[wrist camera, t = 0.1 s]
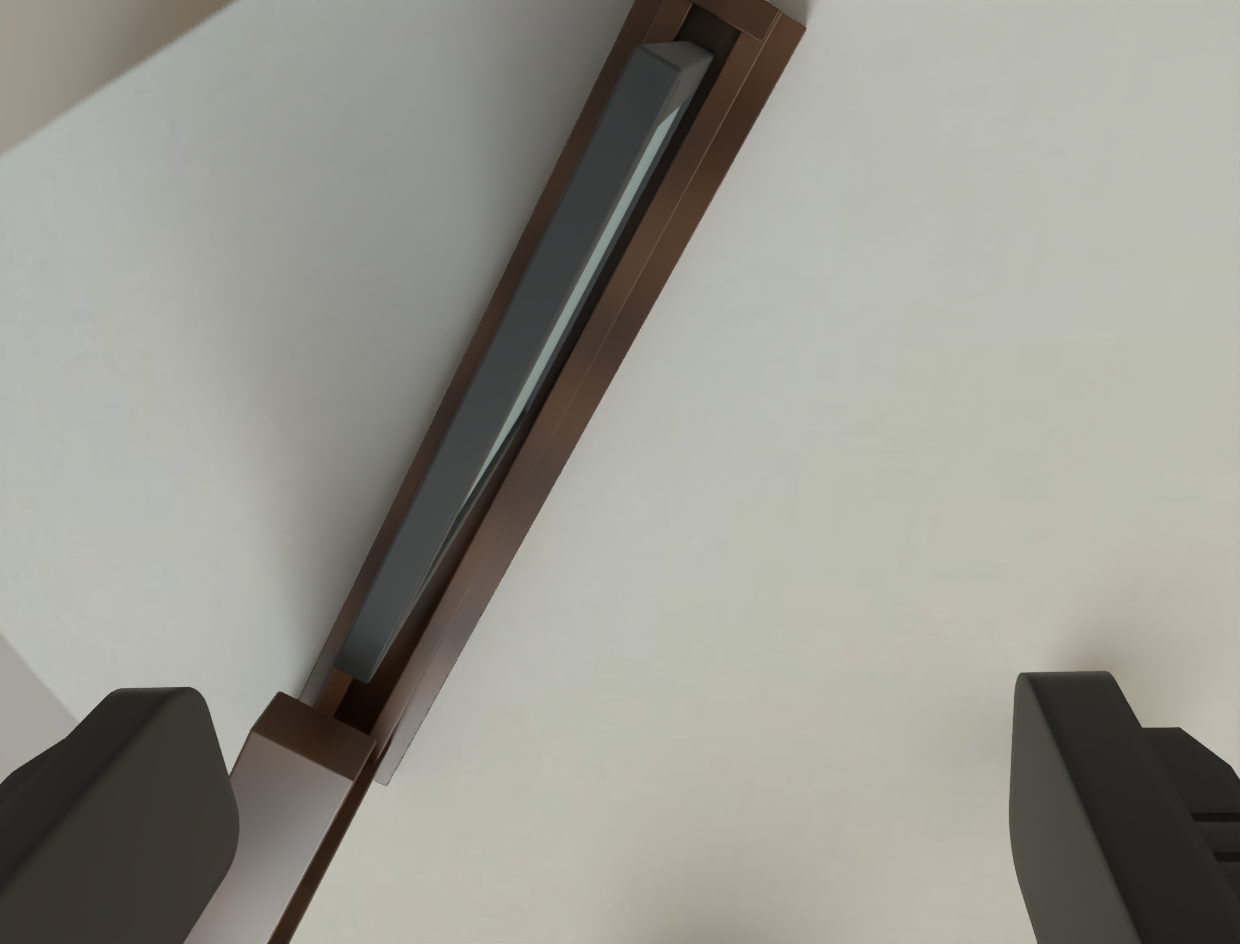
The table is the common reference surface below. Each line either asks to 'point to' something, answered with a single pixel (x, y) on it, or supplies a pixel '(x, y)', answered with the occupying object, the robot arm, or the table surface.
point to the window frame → (491, 535)
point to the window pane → (530, 333)
